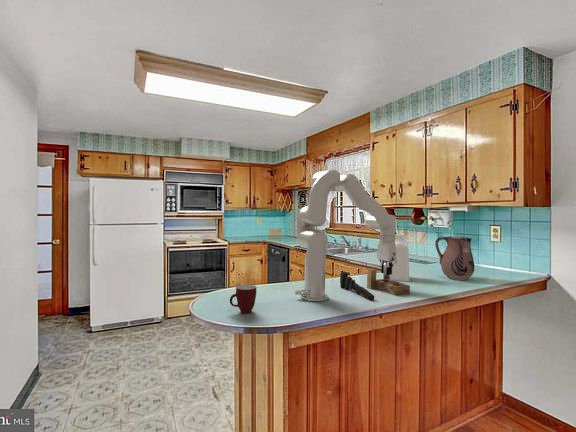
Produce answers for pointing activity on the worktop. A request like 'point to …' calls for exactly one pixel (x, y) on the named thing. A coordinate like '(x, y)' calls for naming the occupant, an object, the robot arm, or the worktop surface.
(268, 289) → the worktop surface
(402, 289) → the socket block
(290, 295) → the worktop surface
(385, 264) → the round bit
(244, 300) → the mug
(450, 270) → the ceramic pitcher
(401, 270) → the milk
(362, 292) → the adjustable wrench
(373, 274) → the square bit
